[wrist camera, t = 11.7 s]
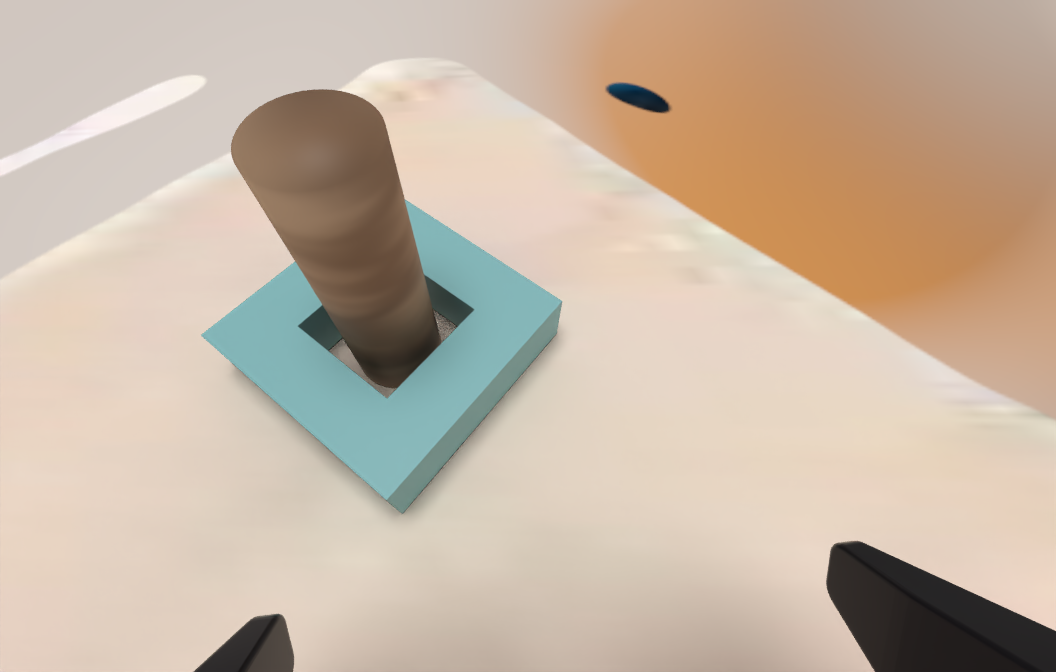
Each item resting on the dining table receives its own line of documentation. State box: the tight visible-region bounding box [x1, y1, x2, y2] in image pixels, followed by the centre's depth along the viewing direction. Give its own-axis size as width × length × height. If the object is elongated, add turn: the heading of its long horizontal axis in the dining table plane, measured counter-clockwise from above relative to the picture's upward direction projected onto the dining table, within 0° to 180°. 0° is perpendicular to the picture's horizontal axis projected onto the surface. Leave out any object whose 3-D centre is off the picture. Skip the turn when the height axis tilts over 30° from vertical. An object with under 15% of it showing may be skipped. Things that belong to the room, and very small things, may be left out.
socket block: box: [201, 200, 562, 514], centre depth 23 cm, size 11×11×3 cm
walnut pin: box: [231, 90, 441, 388], centre depth 19 cm, size 4×4×12 cm
